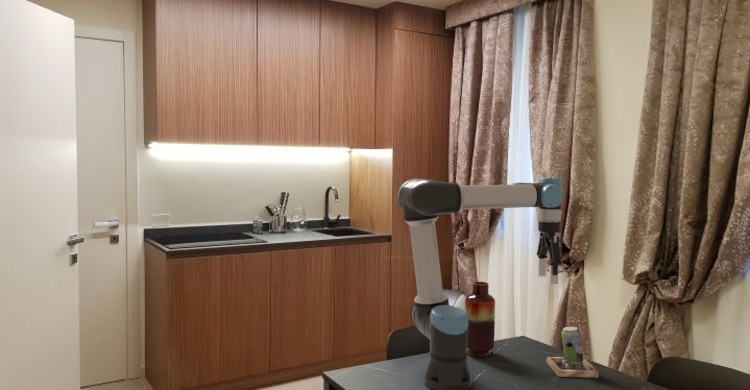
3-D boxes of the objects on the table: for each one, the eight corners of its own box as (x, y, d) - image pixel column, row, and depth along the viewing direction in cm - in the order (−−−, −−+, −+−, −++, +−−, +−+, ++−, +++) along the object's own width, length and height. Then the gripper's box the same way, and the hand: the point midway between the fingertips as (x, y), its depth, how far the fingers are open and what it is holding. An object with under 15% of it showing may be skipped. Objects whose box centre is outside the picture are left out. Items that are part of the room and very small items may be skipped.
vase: (498, 351, 200) (500, 282, 199) (487, 360, 191) (489, 287, 189) (470, 346, 206) (472, 278, 205) (458, 354, 196) (460, 283, 195)
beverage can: (584, 366, 179) (586, 331, 178) (561, 364, 180) (563, 329, 180) (581, 360, 185) (582, 325, 185) (559, 358, 186) (560, 324, 186)
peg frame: (558, 376, 176) (558, 369, 176) (546, 362, 189) (546, 355, 189) (598, 377, 176) (598, 370, 176) (583, 363, 189) (583, 356, 189)
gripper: (572, 224, 178) (570, 287, 179) (549, 217, 203) (547, 273, 204) (549, 224, 178) (547, 287, 179) (529, 217, 203) (527, 273, 204)
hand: (547, 280), depth 192 cm, fingers open, 13 cm apart
